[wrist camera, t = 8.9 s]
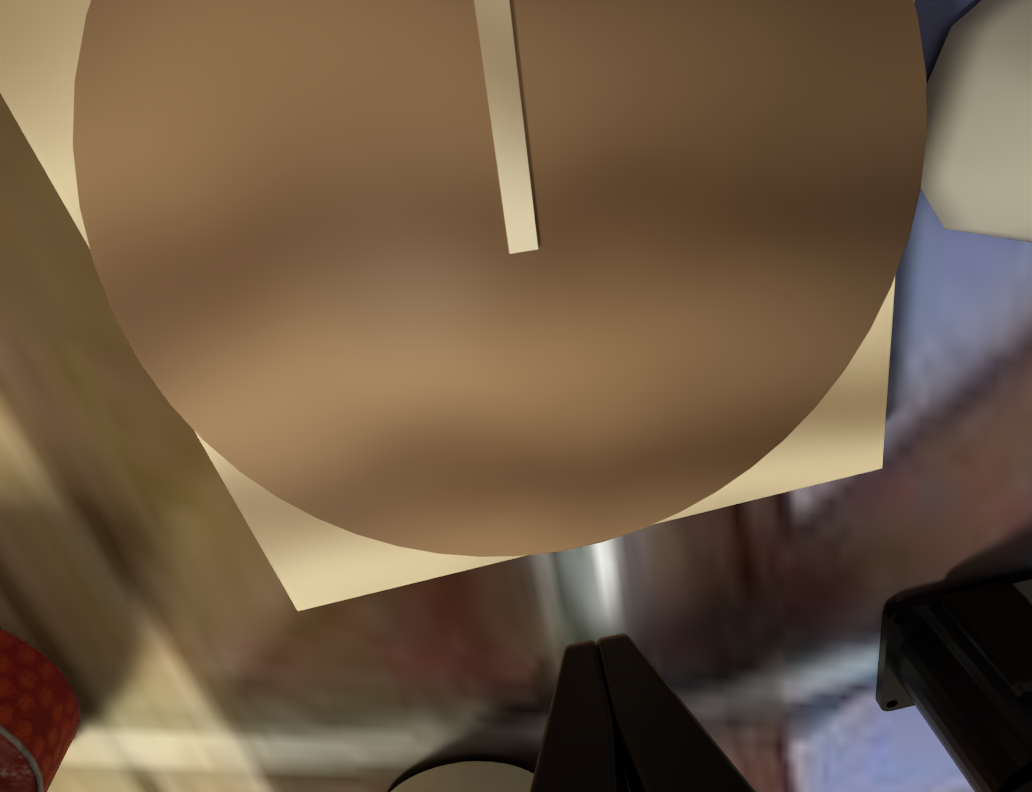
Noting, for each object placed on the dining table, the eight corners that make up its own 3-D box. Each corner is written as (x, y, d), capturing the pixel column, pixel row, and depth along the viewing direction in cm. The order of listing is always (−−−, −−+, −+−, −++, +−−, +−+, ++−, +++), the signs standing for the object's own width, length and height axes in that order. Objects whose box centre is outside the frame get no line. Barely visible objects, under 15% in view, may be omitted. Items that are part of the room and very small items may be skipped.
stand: (856, 441, 22) (887, 474, 21) (305, 577, 23) (296, 618, 21) (898, -522, 12) (968, -602, 10) (-135, -232, 12) (-218, -267, 11)
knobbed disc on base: (829, 456, 20) (997, 647, 14) (267, 552, 20) (193, 790, 14) (938, -363, 11) (1494, -772, 5) (-67, -221, 11) (-666, -492, 5)
